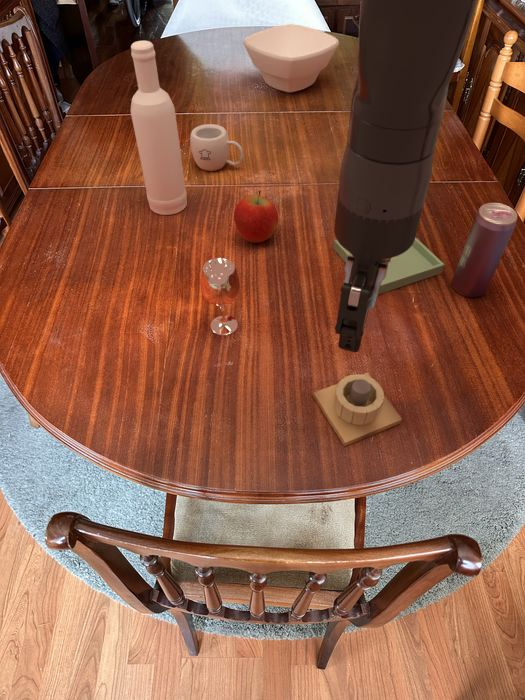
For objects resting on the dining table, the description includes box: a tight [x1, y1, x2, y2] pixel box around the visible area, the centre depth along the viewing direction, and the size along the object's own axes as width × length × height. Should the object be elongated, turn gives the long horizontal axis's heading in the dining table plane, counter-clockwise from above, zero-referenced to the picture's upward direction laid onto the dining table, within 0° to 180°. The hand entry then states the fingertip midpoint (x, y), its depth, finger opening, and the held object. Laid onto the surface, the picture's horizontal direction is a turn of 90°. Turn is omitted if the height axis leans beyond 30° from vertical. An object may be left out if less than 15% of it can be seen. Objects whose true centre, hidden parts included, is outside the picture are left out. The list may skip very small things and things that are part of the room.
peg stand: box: [312, 372, 403, 447], centre depth 69 cm, size 9×9×6 cm
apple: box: [233, 190, 279, 244], centre depth 94 cm, size 8×8×10 cm
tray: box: [333, 236, 445, 295], centre depth 92 cm, size 14×14×2 cm
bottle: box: [130, 40, 188, 216], centre depth 94 cm, size 8×8×30 cm
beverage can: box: [451, 202, 518, 298], centre depth 82 cm, size 6×6×15 cm
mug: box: [189, 123, 244, 172], centre depth 112 cm, size 12×8×8 cm
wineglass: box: [200, 257, 241, 336], centre depth 78 cm, size 6×6×12 cm
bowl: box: [242, 23, 340, 93], centre depth 139 cm, size 22×22×12 cm
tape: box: [334, 373, 385, 425], centre depth 70 cm, size 6×6×3 cm
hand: (358, 321), depth 57 cm, fingers open, 8 cm apart
